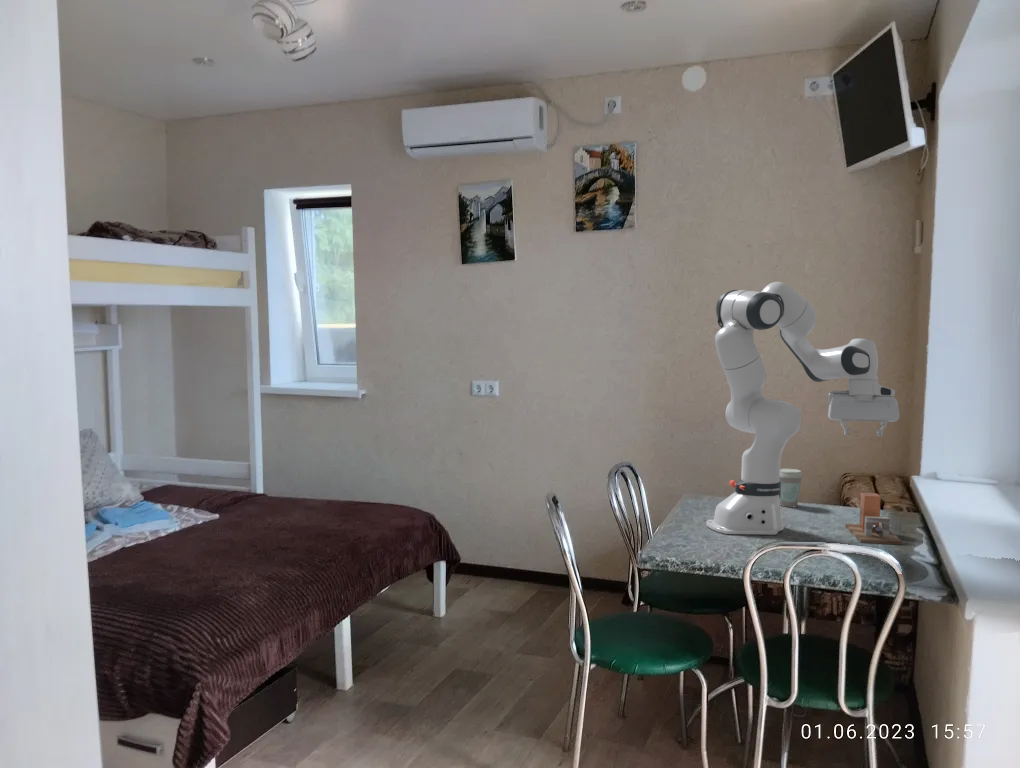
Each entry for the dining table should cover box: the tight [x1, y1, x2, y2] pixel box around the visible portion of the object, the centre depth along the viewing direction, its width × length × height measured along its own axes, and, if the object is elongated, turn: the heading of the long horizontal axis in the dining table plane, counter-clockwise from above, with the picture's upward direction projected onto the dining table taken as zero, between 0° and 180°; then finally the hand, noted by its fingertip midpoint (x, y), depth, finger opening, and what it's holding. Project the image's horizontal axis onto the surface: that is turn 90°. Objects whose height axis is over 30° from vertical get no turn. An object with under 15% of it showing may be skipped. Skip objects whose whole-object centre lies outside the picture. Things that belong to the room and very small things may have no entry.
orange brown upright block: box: [858, 492, 882, 533], centre depth 238 cm, size 12×4×10 cm, turn 170°
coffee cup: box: [779, 467, 803, 508], centre depth 276 cm, size 8×8×12 cm
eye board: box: [844, 516, 903, 545], centre depth 238 cm, size 18×11×6 cm, turn 170°
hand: (863, 435), depth 253 cm, fingers open, 8 cm apart
